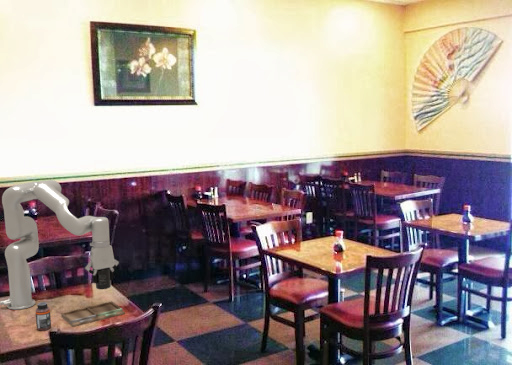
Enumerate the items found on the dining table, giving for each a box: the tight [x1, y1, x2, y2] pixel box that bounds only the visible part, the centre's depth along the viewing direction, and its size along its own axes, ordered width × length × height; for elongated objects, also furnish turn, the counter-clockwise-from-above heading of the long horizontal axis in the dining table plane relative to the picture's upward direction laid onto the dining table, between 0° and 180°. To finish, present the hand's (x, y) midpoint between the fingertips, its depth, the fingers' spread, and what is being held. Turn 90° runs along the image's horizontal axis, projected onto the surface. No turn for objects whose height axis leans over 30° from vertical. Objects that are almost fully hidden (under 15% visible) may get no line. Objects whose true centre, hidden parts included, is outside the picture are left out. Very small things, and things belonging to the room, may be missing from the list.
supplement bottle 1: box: [35, 301, 52, 331], centre depth 234 cm, size 6×6×11 cm
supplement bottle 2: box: [95, 268, 112, 290], centre depth 252 cm, size 7×7×12 cm
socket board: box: [60, 301, 126, 328], centre depth 249 cm, size 24×15×2 cm, turn 128°
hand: (103, 280), depth 252 cm, fingers closed on supplement bottle 2, 6 cm apart
